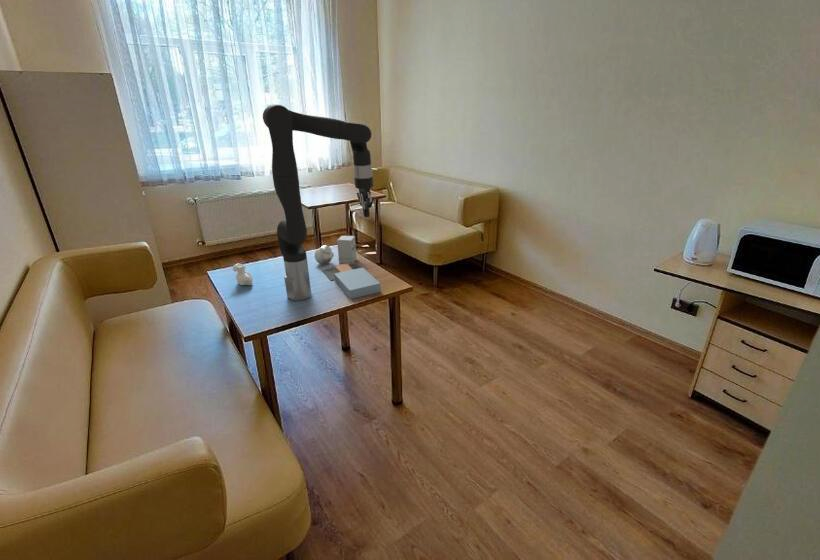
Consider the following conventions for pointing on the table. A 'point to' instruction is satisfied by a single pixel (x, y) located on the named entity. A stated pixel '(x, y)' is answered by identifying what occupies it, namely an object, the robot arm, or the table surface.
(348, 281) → the block
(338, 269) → the tan rectangular block
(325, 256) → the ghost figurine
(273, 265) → the table surface
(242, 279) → the duck figurine
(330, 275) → the mat
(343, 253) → the supplement box
